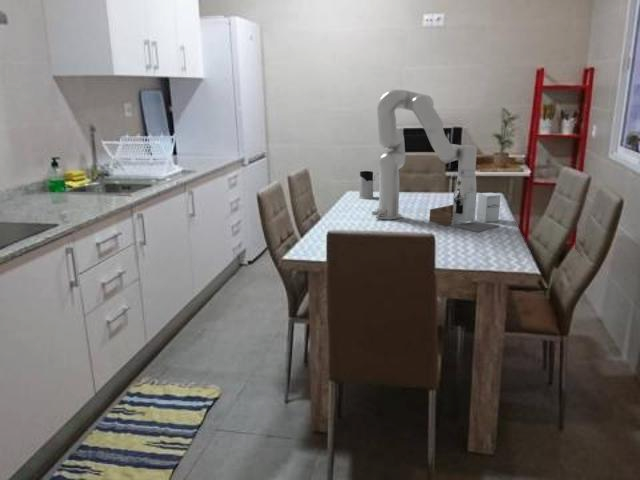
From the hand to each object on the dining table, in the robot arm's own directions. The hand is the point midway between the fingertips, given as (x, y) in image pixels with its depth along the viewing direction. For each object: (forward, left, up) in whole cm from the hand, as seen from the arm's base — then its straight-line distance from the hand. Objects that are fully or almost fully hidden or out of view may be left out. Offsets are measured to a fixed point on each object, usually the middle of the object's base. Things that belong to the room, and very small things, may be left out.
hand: (464, 211), depth 242 cm
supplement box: (+15, -3, -6) cm, 16 cm away
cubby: (0, +6, -6) cm, 8 cm away
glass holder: (+13, +76, -6) cm, 78 cm away
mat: (0, -8, -6) cm, 10 cm away
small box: (0, 0, -4) cm, 4 cm away
